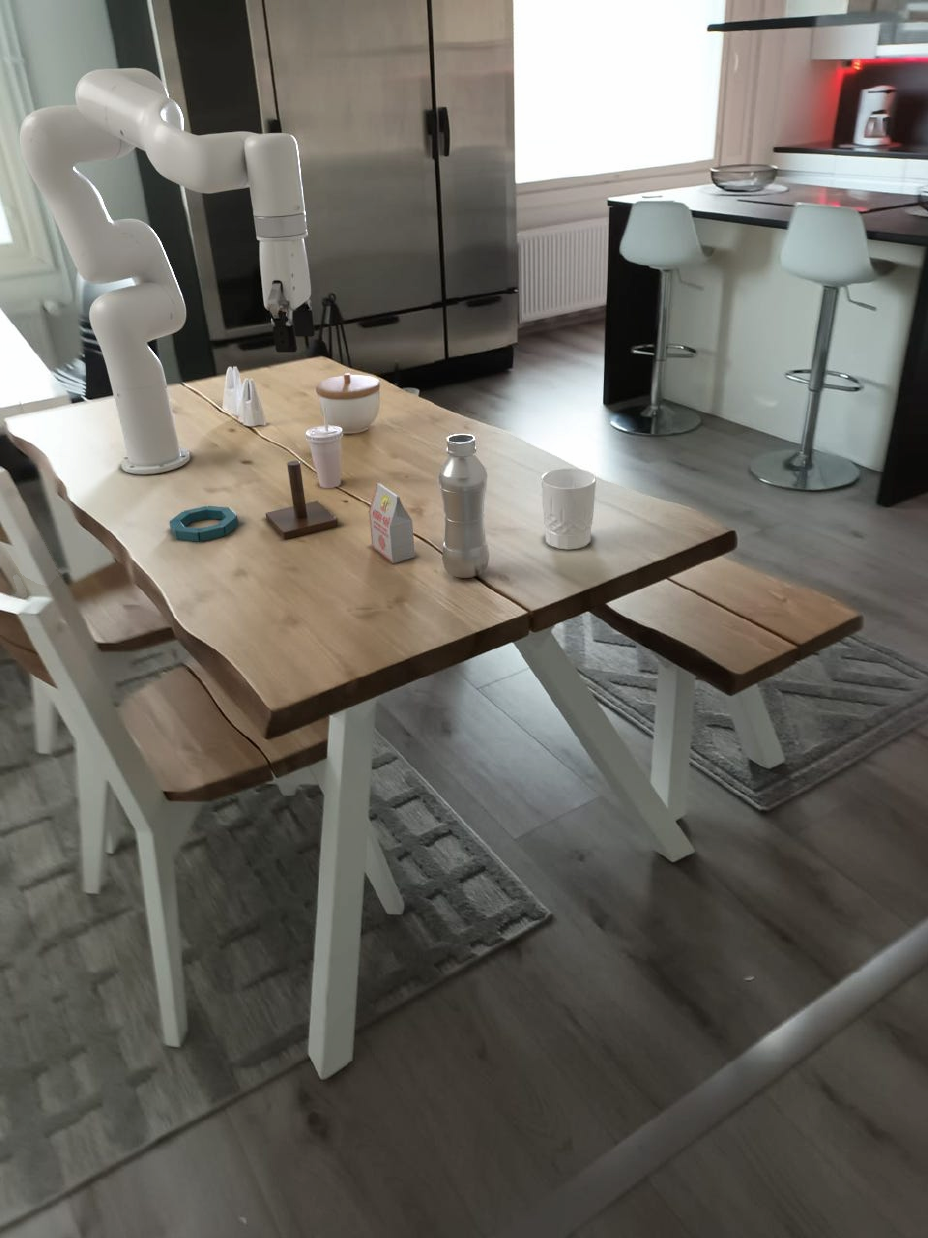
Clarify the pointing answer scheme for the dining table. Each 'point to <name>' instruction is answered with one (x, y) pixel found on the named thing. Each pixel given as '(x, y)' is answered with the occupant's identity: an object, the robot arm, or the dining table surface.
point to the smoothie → (326, 452)
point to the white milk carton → (390, 526)
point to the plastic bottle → (464, 508)
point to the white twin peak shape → (242, 399)
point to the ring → (203, 533)
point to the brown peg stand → (300, 510)
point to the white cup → (568, 507)
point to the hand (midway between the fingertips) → (296, 343)
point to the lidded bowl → (350, 401)
